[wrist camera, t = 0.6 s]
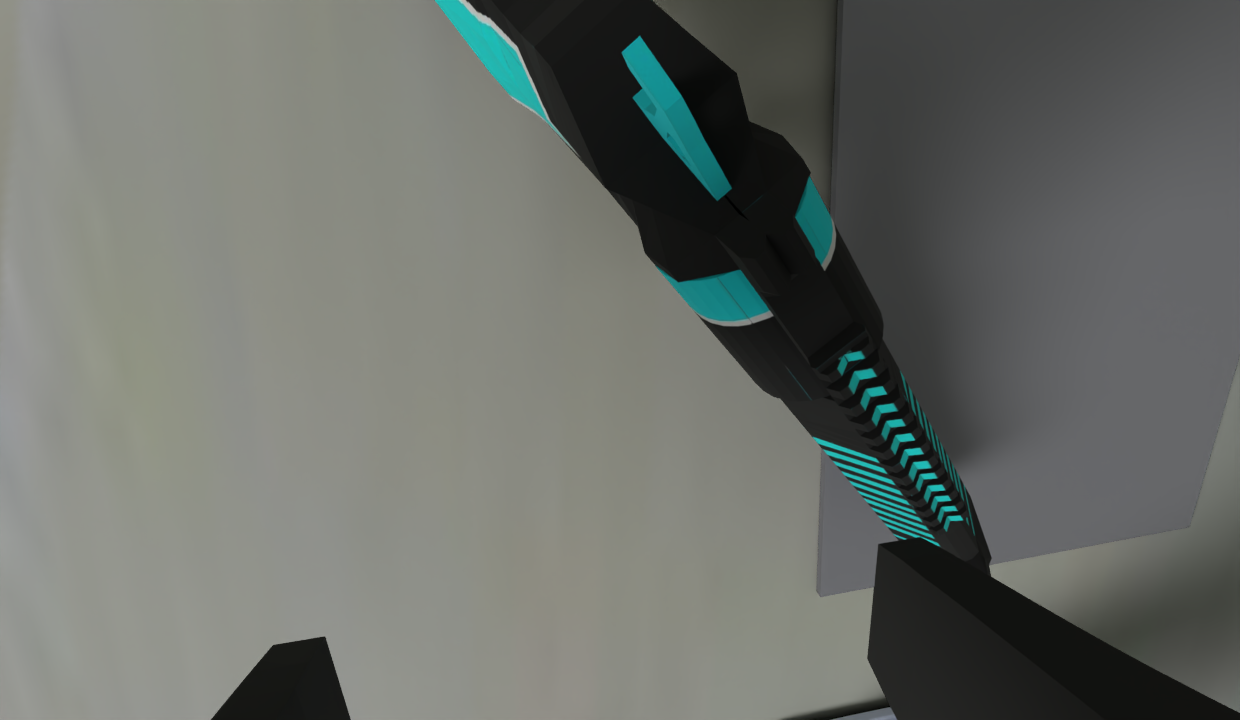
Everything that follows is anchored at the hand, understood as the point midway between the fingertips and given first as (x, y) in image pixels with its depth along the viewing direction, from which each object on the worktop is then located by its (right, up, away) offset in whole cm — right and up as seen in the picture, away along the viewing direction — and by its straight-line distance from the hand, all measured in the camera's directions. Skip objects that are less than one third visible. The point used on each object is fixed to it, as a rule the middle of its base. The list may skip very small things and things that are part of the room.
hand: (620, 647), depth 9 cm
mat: (+13, +8, +10) cm, 18 cm away
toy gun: (+3, +7, +9) cm, 11 cm away
